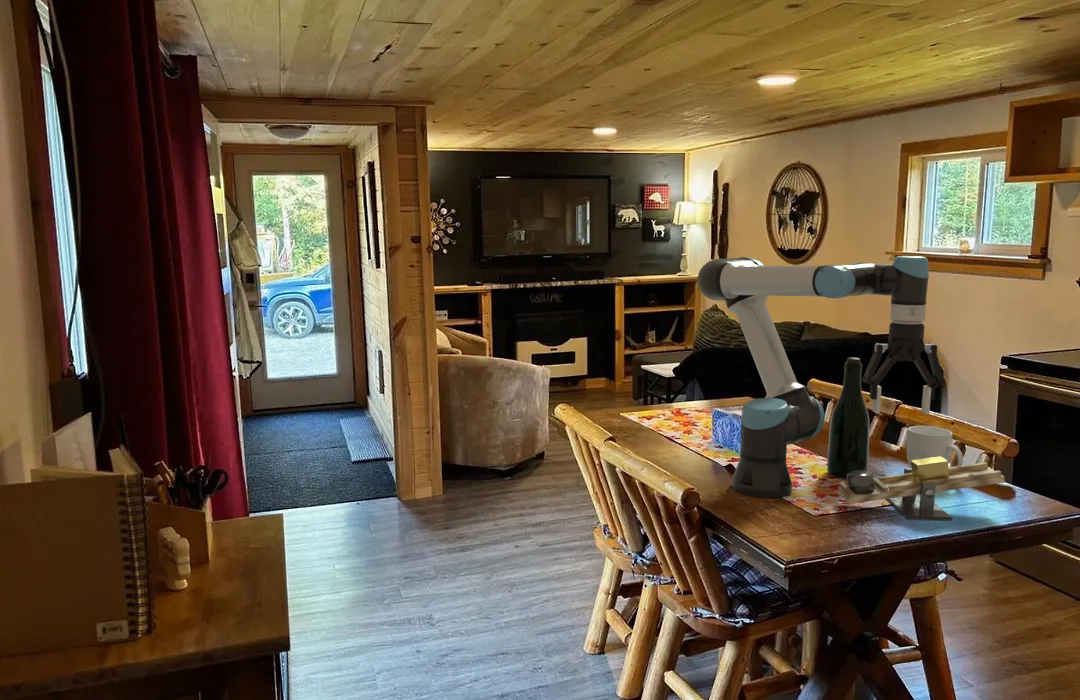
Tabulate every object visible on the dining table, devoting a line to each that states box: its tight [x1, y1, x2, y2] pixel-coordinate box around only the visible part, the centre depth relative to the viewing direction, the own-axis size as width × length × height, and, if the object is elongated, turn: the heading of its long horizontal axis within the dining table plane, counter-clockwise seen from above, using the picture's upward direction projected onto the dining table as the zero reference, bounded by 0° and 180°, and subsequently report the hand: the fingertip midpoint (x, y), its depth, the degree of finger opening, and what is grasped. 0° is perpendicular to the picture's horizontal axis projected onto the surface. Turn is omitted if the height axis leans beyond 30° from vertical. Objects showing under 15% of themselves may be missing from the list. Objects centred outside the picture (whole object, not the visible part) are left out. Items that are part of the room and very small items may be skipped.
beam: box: [837, 461, 1006, 505], centre depth 188 cm, size 36×8×3 cm, turn 85°
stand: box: [886, 467, 953, 522], centre depth 189 cm, size 10×15×8 cm, turn 175°
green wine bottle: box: [826, 356, 870, 480], centre depth 213 cm, size 10×10×33 cm
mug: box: [906, 425, 964, 468], centre depth 211 cm, size 15×11×13 cm
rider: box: [911, 456, 949, 482], centre depth 188 cm, size 7×4×5 cm, turn 85°
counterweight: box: [846, 470, 875, 494], centre depth 190 cm, size 6×6×4 cm
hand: (900, 412), depth 186 cm, fingers open, 11 cm apart
